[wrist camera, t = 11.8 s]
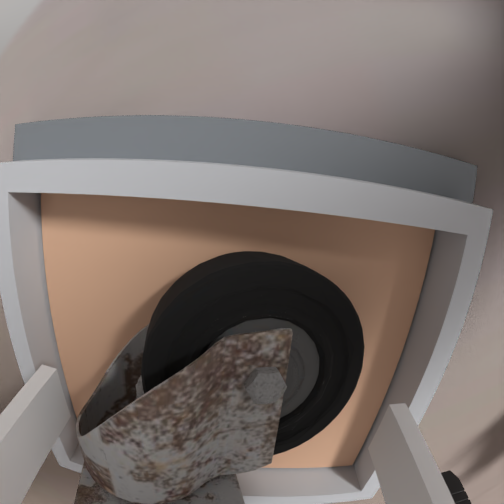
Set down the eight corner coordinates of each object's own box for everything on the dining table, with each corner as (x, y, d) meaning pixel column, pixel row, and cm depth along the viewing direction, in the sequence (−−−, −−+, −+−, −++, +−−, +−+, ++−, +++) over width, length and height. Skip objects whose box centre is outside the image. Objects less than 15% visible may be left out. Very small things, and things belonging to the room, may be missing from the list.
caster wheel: (328, 249, 15) (300, 421, 17) (85, 233, 13) (98, 422, 14) (421, 279, 9) (351, 501, 10) (16, 259, 6) (76, 515, 8)
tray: (27, 125, 12) (-18, 123, 9) (465, 164, 13) (511, 170, 10) (74, 444, 19) (57, 476, 15) (363, 473, 19) (373, 508, 16)
